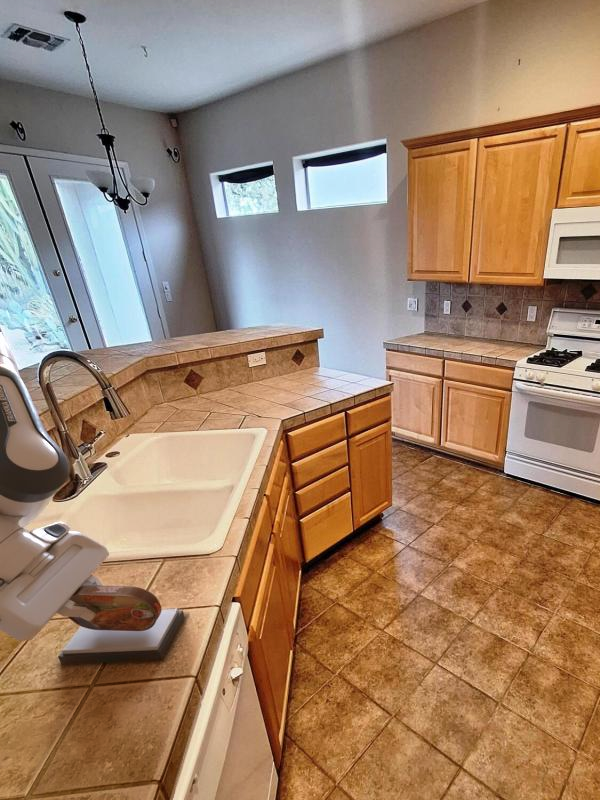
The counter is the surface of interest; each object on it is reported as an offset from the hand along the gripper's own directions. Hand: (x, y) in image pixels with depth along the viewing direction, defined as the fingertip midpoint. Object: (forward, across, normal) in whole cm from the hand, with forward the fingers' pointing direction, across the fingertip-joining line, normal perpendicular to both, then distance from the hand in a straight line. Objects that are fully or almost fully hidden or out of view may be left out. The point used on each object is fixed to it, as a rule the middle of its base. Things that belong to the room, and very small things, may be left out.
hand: (101, 607), depth 72 cm
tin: (+5, 0, +2) cm, 5 cm away
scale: (+7, 0, +4) cm, 8 cm away
